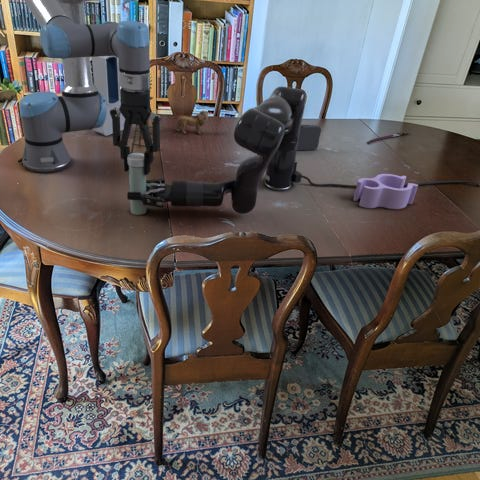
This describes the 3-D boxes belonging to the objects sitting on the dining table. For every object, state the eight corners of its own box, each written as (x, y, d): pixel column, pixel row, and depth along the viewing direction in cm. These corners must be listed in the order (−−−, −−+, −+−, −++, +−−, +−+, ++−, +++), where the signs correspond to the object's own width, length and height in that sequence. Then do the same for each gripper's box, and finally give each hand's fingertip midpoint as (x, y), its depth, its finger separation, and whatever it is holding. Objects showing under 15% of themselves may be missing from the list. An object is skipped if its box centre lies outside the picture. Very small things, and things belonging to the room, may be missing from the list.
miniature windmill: (151, 157, 172) (150, 74, 155) (129, 154, 173) (126, 70, 156) (160, 149, 179) (159, 68, 163) (139, 145, 180) (137, 64, 164)
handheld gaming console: (315, 147, 196) (319, 124, 190) (317, 149, 194) (322, 126, 188) (264, 149, 189) (267, 125, 183) (266, 152, 187) (269, 127, 181)
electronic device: (104, 136, 184) (98, 57, 168) (90, 131, 187) (84, 53, 171) (126, 129, 193) (123, 53, 177) (113, 124, 196) (109, 49, 180)
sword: (405, 131, 223) (406, 129, 223) (410, 133, 221) (411, 131, 221) (362, 143, 208) (363, 140, 207) (367, 145, 206) (368, 143, 205)
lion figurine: (205, 129, 202) (206, 108, 197) (209, 133, 198) (210, 112, 193) (172, 130, 197) (172, 109, 192) (175, 135, 193) (175, 113, 188)
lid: (150, 163, 132) (150, 156, 130) (138, 169, 128) (138, 162, 126) (135, 158, 134) (135, 151, 132) (123, 164, 130) (123, 156, 128)
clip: (366, 212, 151) (371, 193, 147) (347, 194, 161) (351, 176, 157) (417, 207, 158) (423, 188, 154) (395, 190, 167) (401, 172, 163)
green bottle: (142, 216, 137) (141, 163, 128) (128, 213, 137) (125, 160, 128) (149, 208, 140) (148, 157, 131) (134, 206, 141) (132, 154, 132)
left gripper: (94, 87, 117) (101, 171, 130) (164, 97, 115) (164, 182, 128) (106, 80, 123) (111, 161, 136) (173, 89, 122) (172, 171, 134)
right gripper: (187, 171, 141) (130, 169, 139) (188, 193, 129) (125, 191, 127) (187, 193, 145) (131, 191, 143) (187, 217, 133) (126, 215, 131)
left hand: (137, 171), depth 132 cm, fingers closed on lid, 5 cm apart
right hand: (128, 191), depth 135 cm, fingers closed on green bottle, 4 cm apart
